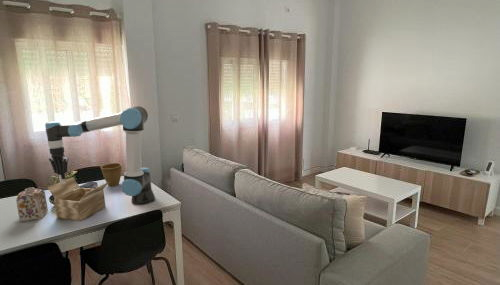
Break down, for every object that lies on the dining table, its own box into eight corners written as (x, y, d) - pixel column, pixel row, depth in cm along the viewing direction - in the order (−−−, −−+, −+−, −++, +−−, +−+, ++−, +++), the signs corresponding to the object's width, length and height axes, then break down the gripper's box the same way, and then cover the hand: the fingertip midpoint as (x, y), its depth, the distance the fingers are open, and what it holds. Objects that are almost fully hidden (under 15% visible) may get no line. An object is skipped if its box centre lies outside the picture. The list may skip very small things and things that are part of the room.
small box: (88, 201, 207) (86, 186, 205) (80, 200, 209) (78, 186, 206) (99, 195, 217) (97, 181, 215) (91, 195, 219) (89, 181, 217)
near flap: (102, 189, 194) (102, 189, 194) (79, 200, 176) (79, 201, 176) (109, 181, 191) (109, 182, 191) (86, 192, 174) (86, 193, 174)
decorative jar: (41, 219, 182) (37, 190, 178) (19, 221, 179) (13, 193, 175) (48, 211, 193) (44, 184, 189) (27, 213, 190) (22, 186, 186)
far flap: (55, 198, 181) (54, 198, 181) (79, 187, 198) (79, 187, 199) (47, 186, 180) (47, 187, 180) (73, 177, 198) (72, 177, 198)
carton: (106, 206, 198) (104, 189, 195) (80, 221, 178) (78, 202, 175) (83, 204, 202) (81, 187, 200) (56, 218, 182) (53, 199, 180)
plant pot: (106, 182, 245) (104, 163, 241) (126, 181, 246) (124, 162, 243) (100, 189, 230) (97, 168, 227) (120, 188, 232) (118, 168, 228)
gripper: (70, 145, 186) (76, 182, 191) (53, 145, 189) (59, 181, 194) (59, 148, 179) (66, 186, 184) (42, 148, 182) (49, 185, 187)
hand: (62, 184), depth 189 cm, fingers closed
